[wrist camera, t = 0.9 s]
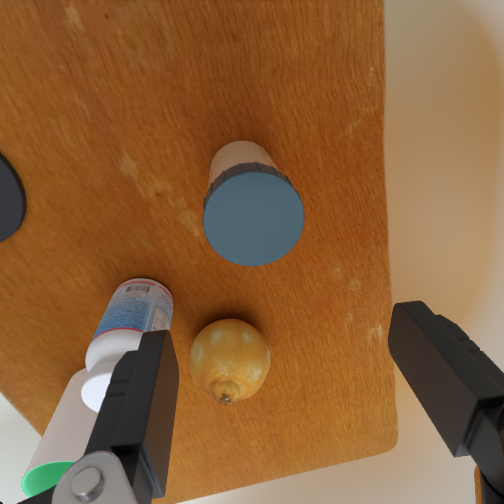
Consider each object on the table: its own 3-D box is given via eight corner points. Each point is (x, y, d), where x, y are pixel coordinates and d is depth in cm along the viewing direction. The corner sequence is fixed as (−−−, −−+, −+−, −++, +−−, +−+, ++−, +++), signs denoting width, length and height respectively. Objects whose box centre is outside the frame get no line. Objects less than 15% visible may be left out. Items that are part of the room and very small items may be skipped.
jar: (205, 143, 27) (199, 177, 18) (273, 137, 27) (300, 167, 18) (213, 208, 29) (212, 265, 20) (275, 202, 29) (300, 255, 21)
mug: (163, 421, 42) (148, 516, 33) (104, 436, 43) (74, 534, 34) (121, 358, 37) (90, 452, 27) (54, 376, 37) (1, 475, 28)
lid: (196, 166, 19) (194, 176, 17) (297, 156, 20) (306, 166, 18) (209, 254, 22) (209, 271, 20) (297, 244, 22) (305, 261, 20)
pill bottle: (104, 311, 33) (56, 410, 24) (127, 266, 31) (86, 354, 21) (159, 332, 35) (137, 431, 25) (185, 291, 33) (171, 382, 23)
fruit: (176, 380, 36) (214, 435, 30) (175, 317, 32) (217, 366, 27) (238, 353, 40) (281, 396, 35) (242, 296, 37) (290, 334, 31)
